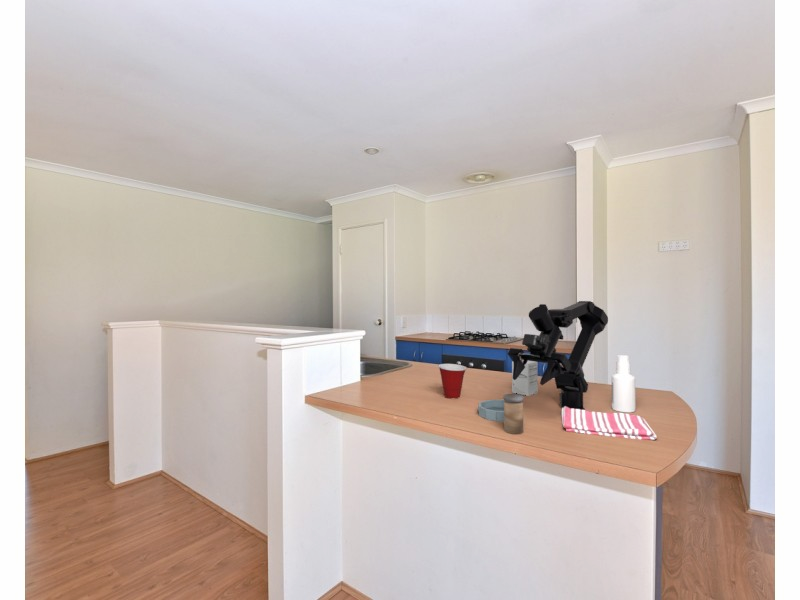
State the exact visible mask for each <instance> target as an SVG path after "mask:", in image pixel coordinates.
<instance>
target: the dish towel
mask: <svg viewBox="0 0 800 600" xmlns="http://www.w3.org/2000/svg"><path fill="white" fill-rule="evenodd" d="M561 424H562V427H563V428H565V430H566V432H567V433H575V432H576V433H575V434H581V433H584V434H583V435H590V434H595V435H594V436H596V435H597V436H601V435H602V437H603V436H604V437H611V436H612V438H622V437H623V438H624V439H631V440H641V439H642V441H645V440H647V441H655V440H656V439H657V438H658V436H657V434H656V433H655V432H654V430H653V429H652V428H651V426H650V425H649V424H648V422H647V420H646V419H645V418H644V417H642V416H640V415H637V414H630V413H625V412H613V413H612V412H601V411H588V410H586V409H585V410H580V409H574V408H572V409H570V408H568V407H566V406H564V408H562V407H561Z"/></svg>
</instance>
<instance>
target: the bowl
mask: <svg viewBox="0 0 800 600" xmlns="http://www.w3.org/2000/svg"><path fill="white" fill-rule="evenodd" d="M477 405H478V408H477V411H478V417H480V416H481V417H480V418H482V417H483V418H482V419H484V418H485V419H484V420H489V421H493V420H494V421H493V422H504V399H488V400H487V399H486V400H482V401H480V402H479V403H477Z"/></svg>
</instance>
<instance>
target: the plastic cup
mask: <svg viewBox="0 0 800 600" xmlns="http://www.w3.org/2000/svg"><path fill="white" fill-rule="evenodd" d="M438 368H439V373H440V378H441V383H442V385H441V386H442V388H443V395H444V398H446V399H451V398H455V399H459V398H460V397H461V394H462V393H461V392H462V387H463V381H464V376H465V373H466V370H467V369H468V368H467V366H464V365H460V364H456V363H440V364H438ZM458 397H459V398H458Z"/></svg>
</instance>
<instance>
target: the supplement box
mask: <svg viewBox="0 0 800 600" xmlns="http://www.w3.org/2000/svg"><path fill="white" fill-rule="evenodd" d="M511 361H512V360H511ZM538 364H539V362H535V361H527V363H526V364H525V365H524V366H525V368H524V370H523V371H522V372H521V374H520V375H519V376H518V378H517V379H516V380H514V379H513V368H514V362H513V361H512V362H511V394H516V393H517V394H518V395H522V396H525V395H526V397H530V395H531V396H534V395H536V394H538V392H539V391H538V389H539V388H538V378H539V377H538V376H539V375H538V374H539V371H538V370H539V369H538V366H539V365H538ZM533 394H534V395H533Z"/></svg>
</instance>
